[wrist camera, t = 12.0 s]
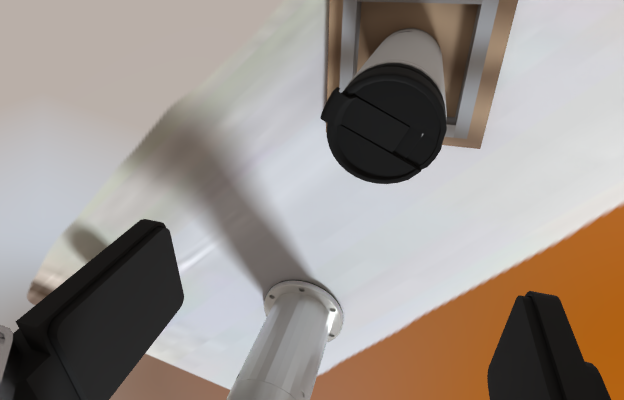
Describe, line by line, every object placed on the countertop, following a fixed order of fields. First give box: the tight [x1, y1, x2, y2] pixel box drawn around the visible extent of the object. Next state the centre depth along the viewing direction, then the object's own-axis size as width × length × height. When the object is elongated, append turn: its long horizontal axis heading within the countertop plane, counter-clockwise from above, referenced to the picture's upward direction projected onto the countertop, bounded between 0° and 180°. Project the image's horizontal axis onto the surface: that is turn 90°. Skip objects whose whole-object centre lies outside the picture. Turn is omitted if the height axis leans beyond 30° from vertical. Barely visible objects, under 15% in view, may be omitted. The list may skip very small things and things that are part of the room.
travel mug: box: [321, 28, 447, 184], centre depth 27 cm, size 6×7×20 cm
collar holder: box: [326, 0, 518, 149], centre depth 35 cm, size 16×16×4 cm
